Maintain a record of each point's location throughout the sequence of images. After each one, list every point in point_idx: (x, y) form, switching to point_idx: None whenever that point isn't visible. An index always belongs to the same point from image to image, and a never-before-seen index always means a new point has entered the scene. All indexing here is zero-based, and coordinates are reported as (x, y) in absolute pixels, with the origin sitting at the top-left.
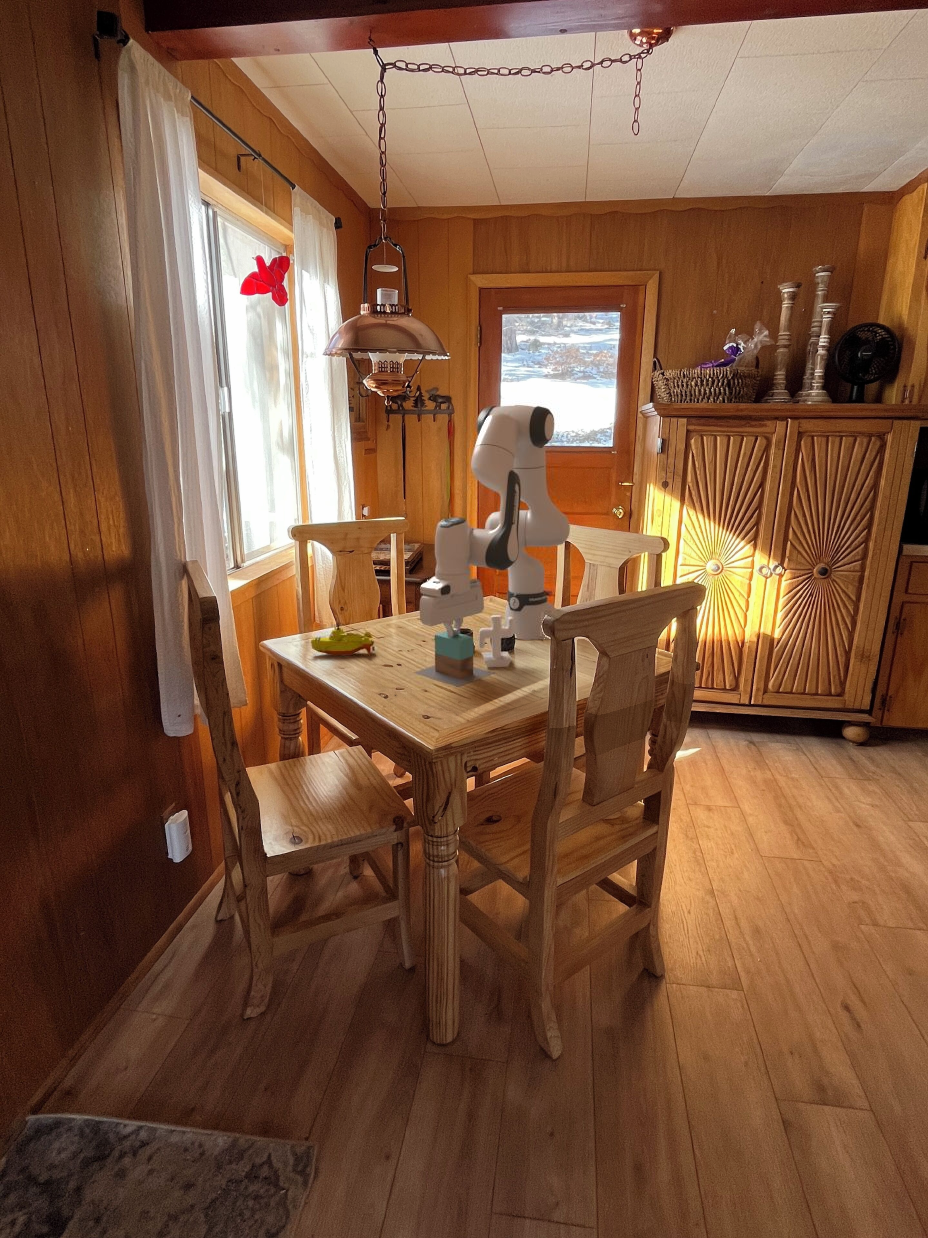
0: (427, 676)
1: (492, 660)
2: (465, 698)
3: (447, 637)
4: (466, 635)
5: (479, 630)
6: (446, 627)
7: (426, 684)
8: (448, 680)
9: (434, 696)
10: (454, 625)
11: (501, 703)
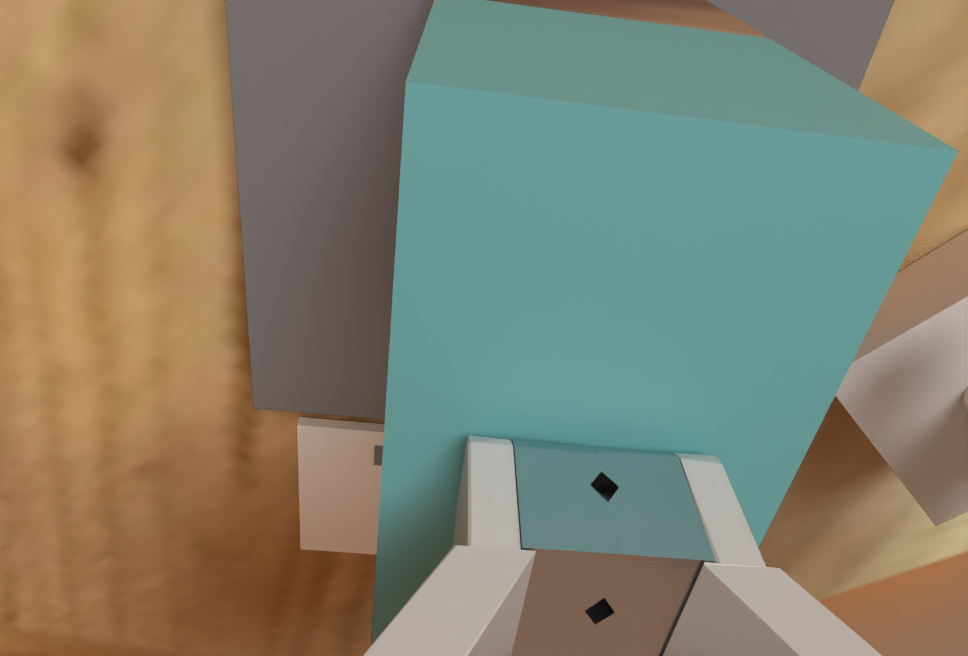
0: (239, 3)
1: (860, 427)
2: (228, 465)
3: (420, 452)
4: None
5: None
6: (400, 638)
7: (202, 30)
8: (314, 266)
9: (66, 288)
10: (748, 636)
11: (327, 622)
